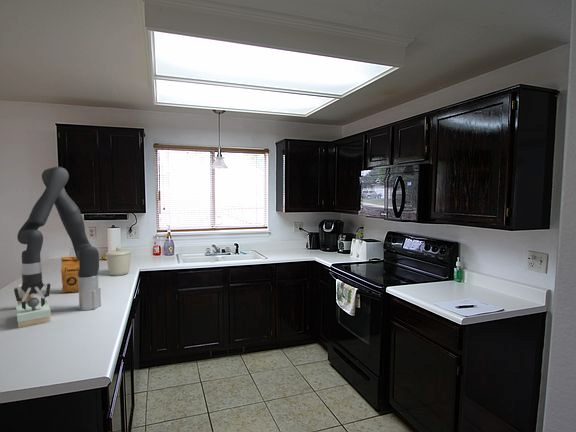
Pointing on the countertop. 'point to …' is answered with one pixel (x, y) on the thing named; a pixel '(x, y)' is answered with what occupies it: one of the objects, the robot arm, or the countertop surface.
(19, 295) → the skincare box
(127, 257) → the canister
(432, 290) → the countertop surface
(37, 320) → the beige wooden open box
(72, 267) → the coffee package
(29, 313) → the lid
